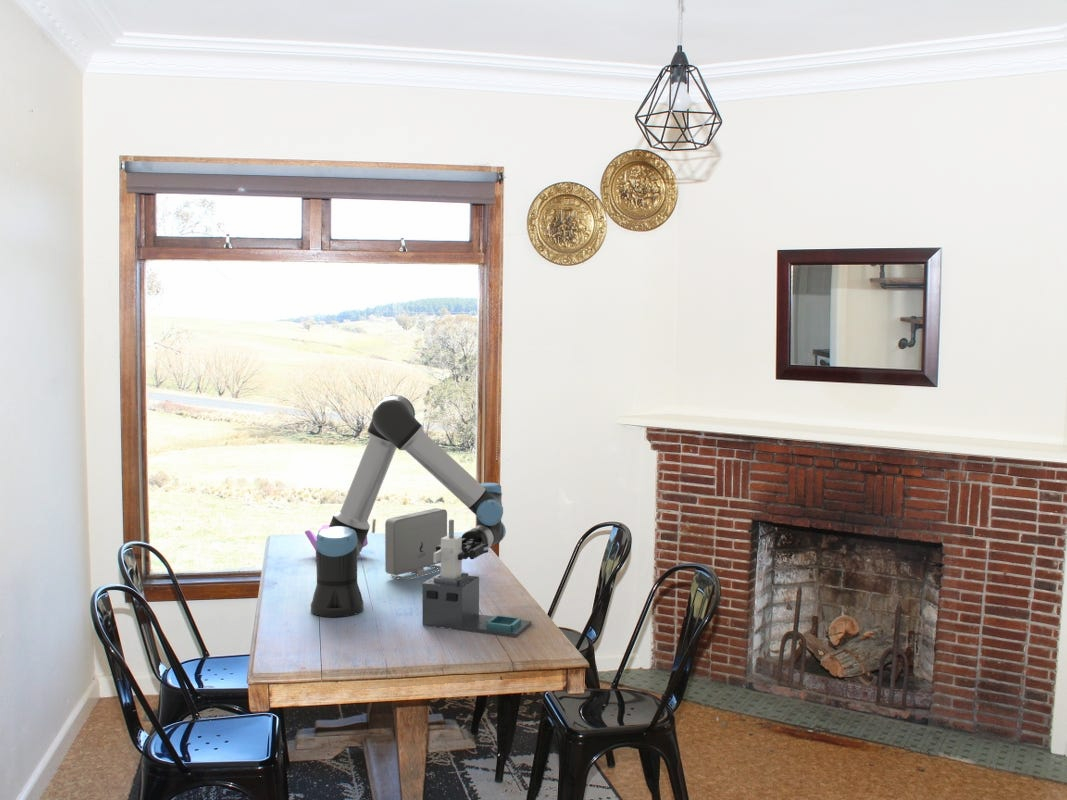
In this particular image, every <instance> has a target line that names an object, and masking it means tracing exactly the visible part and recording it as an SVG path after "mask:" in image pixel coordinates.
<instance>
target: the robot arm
mask: <svg viewBox="0 0 1067 800" xmlns="http://www.w3.org/2000/svg"><path fill="white" fill-rule="evenodd" d="M371 416H372V417H371V419H370V420H371V421H370V423H369V426H368V428H367V429H366V430H367V431H366V433H367V434H368V437H369V438H368V441H367V444H366V446H365V449H364V452H363V454H362V456H361V459H360V461H359V465H358V467H357V468H356V472H355V474H354V477H353V478H352V482H351V484H350V485H349V486H350V487H349V489H348V492H347V494H346V497H345V500H344V501H343V504H342V506H341V510H338V511H336V512H334V513H333V516H332V519H331V521H330V523H329V524H328V525H329V528H327V529H323V530H321V531H320V532H319V533H318V532H317V535H316V537H317V540H316V550H315V557H316V586H315V589H314V593H313V596H312V600H311V603H310V612H311V614H313V615H315V616H318V615H319V617H324V616H326V617H327V618H337V617H336V616H343V617H348V616H347V615H349V616H353V615H352V614H354V615H356V614H355V613H357V614H359V613H361V612H362V611H363V610H364V598H363V597H362V593H361V590H360V588H359V584H358V559H359V558H358V557H359V555H360V553H361V552H362V550H363V548H364V547H363V545H364V541H365V539H366V536H367V537H368V533H369V530H370V528H371V525H370V524H369V521H368V520H369V517H370V515H371V512H372V510H373V507H374V505H375V503H376V500H377V498H378V496H379V492H380V490H381V487H382V485H383V483H384V479H385V478H386V476H387V475H386V474H387V473H388V471H389V468H390V466H391V462H392V460H393V457H394V455H395V452H396V451H397V449H398V450H399V451H406V453H408V454H409V455H410V456H411V457H412V458H413V459H415V460H416V462H417V463H418V464H419V465H420V466H422V467H423V468H424V469H425V470H426V471H428V472H429V473H430V474H431V475H432V476H433V477H434V478H435V479H436V480H437V481H438V482H439V483H440V484H441V485H442V486H444V487H445V488H447V490H448V491H449V492H451V493H452V495H454V496H455V497H456V498H457V499H459V501H460V502H461V503H463V504H464V506H465V507H467V508H468V509H469V510H470V511H471V512H472V513H473V515H475V516H476V526H475V527H473V528H471V529H469V530H467V531H465V532H464V533H463V534H462V535H461V537H462V550H459V551H457V552H455V553H453V554H451V555H450V565H453V564H455V563H457V562H459V561H460V560H462V561H463V560H467V559H468V558H469V559H470V560H474V559H476V558H478V557H480V556H481V555H483V554H487V553H489V549H490V548H492V547H494V546H496V545H498V544H500V542H501V541H502V540H503V539H504V538H505V537H506V532H507V531H506V529H507V528H506V527H505V525H504V522H502V519H503V514H504V507H503V502H502V495H503V493H502V486H501V484H499V483H496V482H481V483H480V481H479V482H478V480H477V479H476V478H475V477H473V476H472V475H471V474H470V473H469V472H468V471H467V470H466V469H464V467H462V466H461V465H460V464H459V463H458V462H457V461H456V460H455V459H454V458H453V457H452V456H451V455H450V454H448V453H447V452H446V451H445V450H444V449H443V448H442V447H441V446H440V445H439V444H438V443H437V442H435V440H433V438H431V437H430V436H429V435H428V434H427V433H425V431H424V426H423V425H422V424H421V423H420V422H419V421H418V420H417V419H416V418H415V417H416V410H415V407H414V405H413V403H412V402H411V401H410V400H409V399H408V398H406V397H405V396H403V395H398V394H389V395H386V396H384V397H383V398H381V399H380V400H379V402H378V403H377V404H376V405H375V407H374V409H373V411H372V415H371ZM439 561H441V544H440V545H438V546H436V552H435V553H434V563H437V562H439ZM326 617H325V618H326Z"/></svg>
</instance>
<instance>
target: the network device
mask: <svg viewBox="0 0 1067 800" xmlns="http://www.w3.org/2000/svg"><path fill="white" fill-rule="evenodd" d="M384 528H385V529H384V531H385V533H384V534H385V535H384V536H385V537H384V539H385V541H384V542H385V543H384V544H385V549H384V550H385V553H384V554H385V556H384V558H385V559H384V560H385V561H384V563H385V564H384V566H385V568H384V569H385V572H386V574H387V575H388V574H389V575H390V577H391V576H392V577H395V578H394V579H396V578H399V579H398V580H400V579H410V580H412V579H411V578H414V579H416V578H415V577H417V578H419V577H418V576H421V577H423V576H422V575H424V576H426V575H425V574H428V575H430V574H429V573H431V574H433V573H432V572H434V573H436V572H435V571H438V570H441V565H437V564H441V561H439V562H437V563H434V553H435V552H436V546H438V545H440V544H441V538H443V537H445V536H447V535H448V511H447V510H446V509H445V508H438V507H434V508H430V509H425V510H422V511H418V512H417V511H416V512H413V513H412V512H411V513H408V514H403V515H399V516H394V517H390V518H387V519H386V520H385V523H384ZM428 566H431V567H430V568H432V567H435V568H434V569H432V570H424V569H425V568H427V567H428ZM428 568H429V567H428ZM436 568H438V569H436ZM409 572H412V573H411V574H413V573H416V574H414V575H412V576H407V577H406V576H402V575H403V574H407V573H409ZM438 572H439V571H438ZM417 574H418V575H417ZM392 577H391V578H392Z"/></svg>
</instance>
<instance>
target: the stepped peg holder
mask: <svg viewBox="0 0 1067 800" xmlns="http://www.w3.org/2000/svg"><path fill="white" fill-rule="evenodd" d="M421 600H422V601H421V602H422V603H421V604H422V612H421V613H422V614H421V615H422V621H421V622H422V623H421V624H423V625H422V626H424V625H428V626H427V627H432V626H436V627H435V628H440V627H444V628H443V629H448V628H451V629H450V630H455V629H457V631H463V630H465V631H464V632H472V633H480V634H485V635H487V634H488V635H496V636H503V637H511V638H518V637H519V636H520V635H521V634H522V633H523V632H525V630H527V629H528V628H529V627H530V626H532V620H527V619H522V618H521V617H517V616H509V615H502V614H496V615H486V614H480V576H476V575H475V576H474V575H469V572H468V573H467V572H462V576H461V577H460V578H458V579H448V578H441V572H440V573H437V574H436V575H434V576H433V577H431V578H429V579H426V581H424V582H422V599H421Z"/></svg>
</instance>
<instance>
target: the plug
mask: <svg viewBox="0 0 1067 800" xmlns="http://www.w3.org/2000/svg"><path fill="white" fill-rule="evenodd" d="M454 532H455V520H454V519H448V534H447V536H445V537H443V538H441V563H440V567H441V571H440V573H441V578H448V579H458V578H460V577H461V576H462V573H463V572H462V565H463V563H462V562H463V560H460V561H459V562H457V563H455V564H453V565H450V555H451V554H453V553H455V552H457V551H459V550H462V536H458V535H457V536H456V535H455V533H454Z"/></svg>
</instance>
